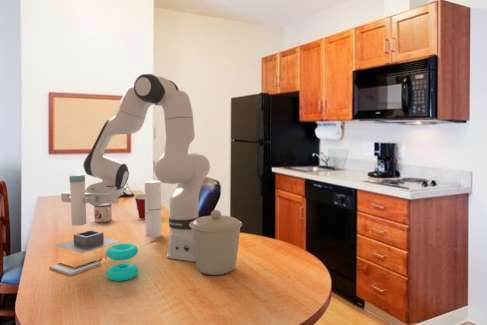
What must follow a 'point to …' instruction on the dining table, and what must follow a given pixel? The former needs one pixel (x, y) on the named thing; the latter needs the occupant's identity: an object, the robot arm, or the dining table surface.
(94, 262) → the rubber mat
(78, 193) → the cylinder
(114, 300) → the dining table surface
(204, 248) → the canister
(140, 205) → the plastic cup
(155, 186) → the cylindrical container
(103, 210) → the teacup with lid
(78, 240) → the grey square peg base
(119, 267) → the donuts
